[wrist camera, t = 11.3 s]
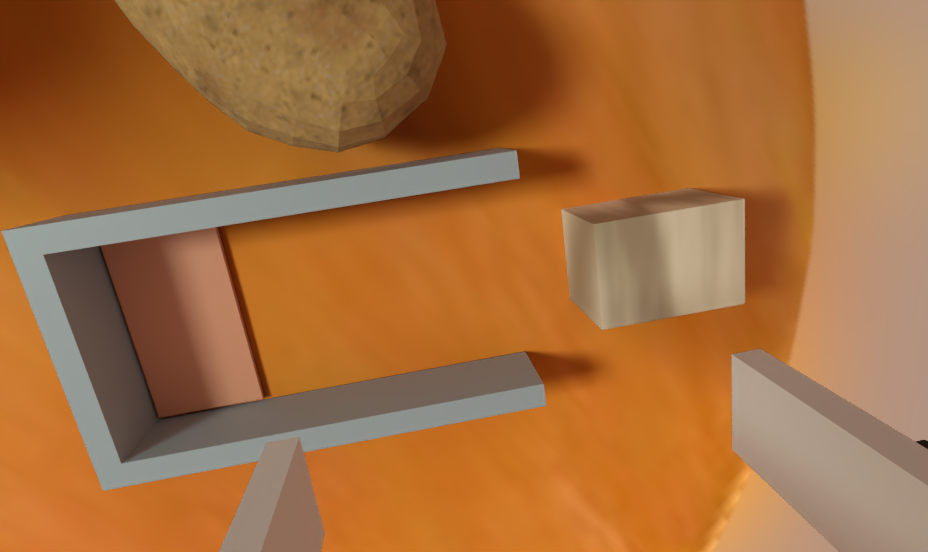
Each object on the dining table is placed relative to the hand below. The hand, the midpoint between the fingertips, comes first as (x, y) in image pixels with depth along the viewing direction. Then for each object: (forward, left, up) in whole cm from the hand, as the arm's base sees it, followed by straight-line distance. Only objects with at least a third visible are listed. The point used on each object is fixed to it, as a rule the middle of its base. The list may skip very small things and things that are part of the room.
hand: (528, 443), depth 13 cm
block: (+6, 0, -14) cm, 15 cm away
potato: (-6, +13, -16) cm, 22 cm away
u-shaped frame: (-7, 0, -16) cm, 17 cm away
